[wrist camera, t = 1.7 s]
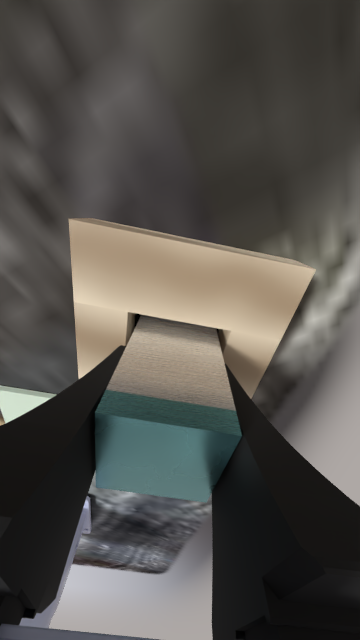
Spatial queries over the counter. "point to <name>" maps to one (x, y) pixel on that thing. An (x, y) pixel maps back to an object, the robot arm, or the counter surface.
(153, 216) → the counter surface
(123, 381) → the block
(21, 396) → the plate
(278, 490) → the robot arm
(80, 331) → the holder
